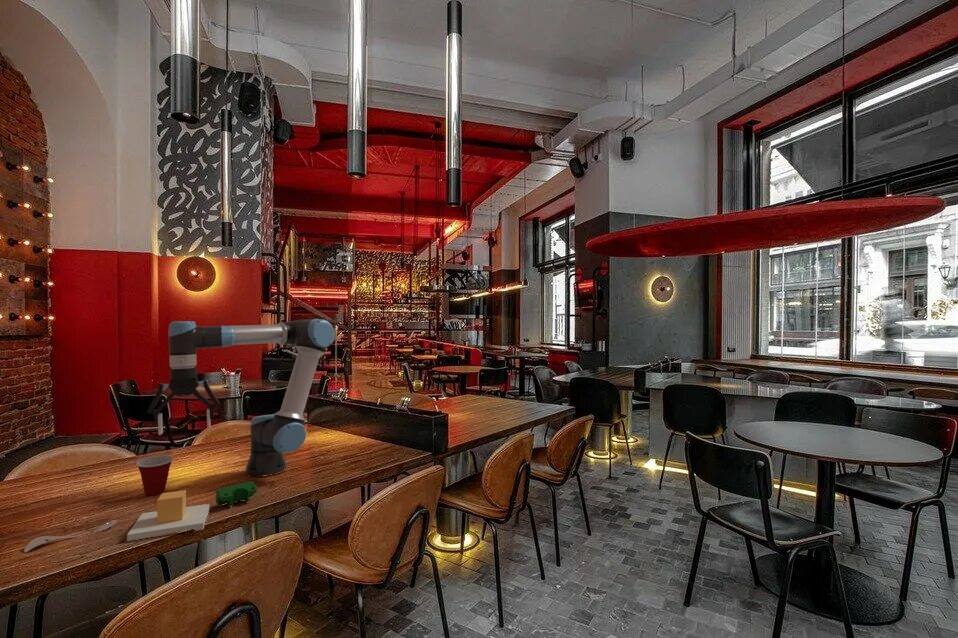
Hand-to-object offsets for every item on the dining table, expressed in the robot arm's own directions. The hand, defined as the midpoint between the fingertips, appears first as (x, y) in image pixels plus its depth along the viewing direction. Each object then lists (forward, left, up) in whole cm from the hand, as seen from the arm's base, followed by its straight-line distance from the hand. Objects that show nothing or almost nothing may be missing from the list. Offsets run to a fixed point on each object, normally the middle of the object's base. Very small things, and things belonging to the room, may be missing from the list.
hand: (185, 431), depth 151 cm
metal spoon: (+24, +14, -25) cm, 38 cm away
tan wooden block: (+1, +16, -23) cm, 28 cm away
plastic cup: (+12, -18, -25) cm, 33 cm away
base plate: (+1, +16, -25) cm, 29 cm away
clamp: (-16, +6, -25) cm, 30 cm away
